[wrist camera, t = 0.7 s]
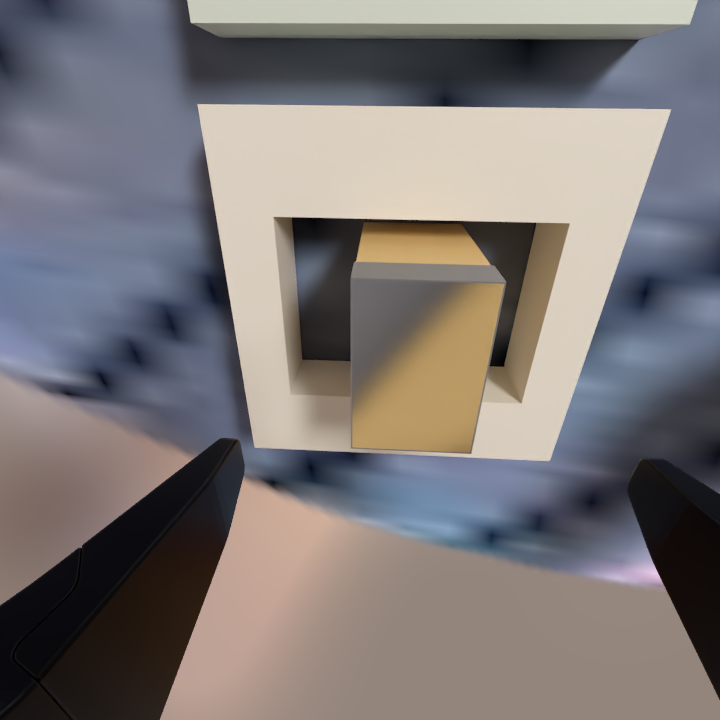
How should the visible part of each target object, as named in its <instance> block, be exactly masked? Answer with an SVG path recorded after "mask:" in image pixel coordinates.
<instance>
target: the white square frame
mask: <svg viewBox="0 0 720 720" xmlns="http://www.w3.org/2000/svg"><path fill="white" fill-rule="evenodd" d="M198 110H199V116H200V122H201V128H202V134H203V140H204V146H205V152H206V158H207V164H208V170H209V176H210V182H211V188H212V194H213V200H214V206H215V212H216V219H217V225H218V231H219V237H220V243H221V249H222V255H223V261H224V267H225V273H226V279H227V285H228V291H229V297H230V303H231V309H232V315H233V321H234V327H235V333H236V339H237V345H238V351H239V357H240V363H241V369H242V375H243V381H244V387H245V393H246V399H247V405H248V411H249V417H250V424H251V430H252V436H253V442H254V448H273V449H295V450H317V451H339V452H361V453H383V454H405V455H427V456H449V457H471V458H493V459H515V460H537V461H550V459H551V456H552V453H553V450H554V447H555V445H556V442H557V439H558V436H559V433H560V430H561V427H562V424H563V421H564V418H565V416H566V413H567V410H568V407H569V404H570V401H571V398H572V395H573V392H574V390H575V387H576V384H577V381H578V378H579V375H580V372H581V369H582V366H583V363H584V361H585V358H586V355H587V352H588V349H589V346H590V343H591V340H592V337H593V335H594V332H595V329H596V326H597V323H598V320H599V317H600V314H601V311H602V308H603V306H604V303H605V300H606V297H607V294H608V291H609V288H610V285H611V282H612V280H613V277H614V274H615V271H616V268H617V265H618V262H619V259H620V256H621V253H622V251H623V248H624V245H625V242H626V239H627V236H628V233H629V230H630V227H631V225H632V222H633V219H634V216H635V213H636V210H637V207H638V204H639V201H640V198H641V196H642V193H643V190H644V187H645V184H646V181H647V178H648V175H649V172H650V170H651V167H652V164H653V161H654V158H655V155H656V152H657V149H658V146H659V143H660V141H661V138H662V135H663V132H664V129H665V126H666V123H667V120H668V117H669V115H670V112H671V109H587V108H496V107H405V106H314V105H223V104H198ZM292 217H306V218H351V219H396V220H441V221H486V222H531V223H536V228H535V232H534V237H533V241H532V245H531V250H530V254H529V258H528V263H527V267H526V272H525V276H524V280H523V285H522V289H521V294H520V298H519V302H518V307H517V311H516V316H515V320H514V324H513V329H512V333H511V337H510V342H509V346H508V351H507V355H506V359H505V364H504V367H495V366H489V370H488V375H487V380H486V385H485V390H484V394H483V399H482V404H481V409H480V414H479V419H478V424H477V428H476V433H475V438H474V443H473V448H472V453H471V454H462V453H440V452H418V451H396V450H374V449H352V448H351V361H330V360H302V348H301V334H300V321H299V307H298V294H297V280H296V266H295V253H294V239H293V225H292Z"/></svg>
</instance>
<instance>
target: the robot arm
mask: <svg viewBox="0 0 720 720" xmlns="http://www.w3.org/2000/svg"><path fill="white" fill-rule="evenodd" d="M244 468H245V467H244V460H243V454H242V449H241V444H240V441H239V440H238V439H234V438H221V439H219V440H217V441H216V442H215V443H214V444H212V445H211V446H210V447H208V448H207V449H206V450H205V451H203V452H202V453H201V454H199V455H198V456H197V457H195V458H194V459H193V460H192V461H190V462H189V463H188V464H186V465H185V466H184V467H183V468H182V469H180V470H179V471H178V472H176V473H175V474H174V475H172V476H171V477H170V478H168V479H167V480H166V481H165V482H163V483H162V484H161V485H159V486H158V487H157V488H155V489H154V490H153V491H152V492H150V493H149V494H148V495H147V496H145V497H144V498H143V499H141V500H140V501H139V502H137V503H136V504H135V505H133V506H132V507H131V508H130V509H128V510H127V511H126V512H124V513H123V514H122V515H121V516H119V517H118V518H117V519H115V520H114V521H113V522H112V523H110V524H109V525H108V526H106V527H105V528H104V529H103V530H101V531H100V532H99V533H97V534H96V535H95V536H94V537H92V538H91V539H90V540H88V541H87V542H86V543H84V544H83V545H82V548H78V549H76V550H75V551H74V552H73V553H71V554H70V555H69V556H67V557H66V558H65V559H64V560H62V561H61V562H60V563H58V564H57V565H56V566H54V567H53V568H52V569H50V570H49V571H48V572H46V573H45V574H44V575H42V576H41V577H40V578H38V579H37V580H36V581H34V582H33V583H32V584H30V585H29V586H28V587H26V588H25V589H23V590H22V591H20V592H19V593H17V594H16V595H15V596H13V597H12V598H10V599H9V600H7V601H6V602H5V603H3V604H2V605H0V720H160V717H161V714H162V712H163V709H164V706H165V704H166V701H167V699H168V696H169V693H170V690H171V688H172V685H173V683H174V680H175V677H176V675H177V672H178V669H179V666H180V664H181V661H182V659H183V656H184V653H185V650H186V648H187V645H188V643H189V640H190V637H191V635H192V632H193V629H194V627H195V624H196V621H197V619H198V616H199V613H200V610H201V608H202V605H203V602H204V600H205V597H206V594H207V592H208V589H209V586H210V584H211V581H212V578H213V576H214V573H215V570H216V567H217V565H218V562H219V560H220V557H221V554H222V551H223V549H224V546H225V543H226V541H227V537H228V534H229V530H230V527H231V523H232V519H233V515H234V511H235V507H236V503H237V499H238V495H239V491H240V488H241V484H242V480H243V476H244ZM627 492H628V496H629V499H630V502H631V504H632V507H633V510H634V512H635V515H636V518H637V521H638V523H639V526H640V529H641V532H642V534H643V537H644V540H645V542H646V545H647V548H648V551H649V553H650V556H651V558H652V560H653V563H654V565H655V567H656V569H657V572H658V574H659V576H660V578H661V580H662V582H663V584H664V586H665V588H666V590H667V592H668V594H669V596H670V598H671V600H672V603H673V604H674V607H675V609H676V611H677V613H678V615H679V617H680V619H681V621H682V623H683V625H684V627H685V629H686V631H687V634H688V636H689V638H690V640H691V642H692V644H693V646H694V648H695V650H696V652H697V654H698V656H699V658H700V660H701V662H702V664H703V666H704V669H705V671H706V672H707V675H708V677H709V679H710V681H711V683H712V685H713V687H714V689H715V691H716V693H717V695H718V697H719V700H720V494H719V493H717V492H716V491H714V490H712V489H711V488H709V487H708V486H706V485H704V484H703V483H701V482H700V481H698V480H696V479H695V478H693V477H691V476H690V475H688V474H687V473H685V472H683V471H682V470H680V469H679V468H677V467H675V466H674V465H672V464H671V463H669V462H667V461H666V460H663V459H659V458H642V459H641V460H640V461H639V462H638V463H637V465H636V467H635V469H634V471H633V474H632V476H631V478H630V480H629V482H628V485H627Z"/></svg>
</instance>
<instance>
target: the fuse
mask: <svg viewBox="0 0 720 720" xmlns="http://www.w3.org/2000/svg"><path fill="white" fill-rule="evenodd" d="M506 283H507V282H506V281H505V279H504V278H503V277H502V275H501V274H500V273H499V271H498V270H497V268H496V267H495V266H494V265H490V263H489V262H488V260H487V259H486V258H485V256H484V255H483V254H482V252H481V251H480V249H479V248H478V247H477V245H476V244H475V242H474V241H473V240H472V238H471V237H470V235H469V234H468V233H467V231H466V230H465V228H464V227H463V226H462V224H438V223H394V222H364V225H363V230H362V235H361V240H360V245H359V250H358V255H357V259H356V262H354V264H353V269H352V273H351V448H352V449H374V450H396V451H418V452H440V453H462V454H471V453H472V448H473V443H474V438H475V433H476V428H477V424H478V419H479V414H480V409H481V404H482V399H483V394H484V390H485V385H486V380H487V375H488V370H489V365H490V361H491V356H492V351H493V346H494V341H495V336H496V331H497V327H498V322H499V317H500V312H501V307H502V302H503V298H504V293H505V288H506Z"/></svg>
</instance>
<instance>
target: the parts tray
mask: <svg viewBox="0 0 720 720" xmlns="http://www.w3.org/2000/svg"><path fill="white" fill-rule="evenodd" d="M697 1H698V0H187V2H188V8H189V14H190V21H191V23H192V24H194V25H196V26H198V27H200V28H202V29H204V30H206V31H208V32H210V33H212V34H214V35H216V36H218V37H220V38H393V39H628V40H641V39H644V38H647V37H650V36H654V35H657V34H660V33H663V32H667V31H670V30H673V29H676V28H680V27H683V26H686V25H689V24H690V22H691V19H692V16H693V13H694V10H695V7H696V4H697Z"/></svg>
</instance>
